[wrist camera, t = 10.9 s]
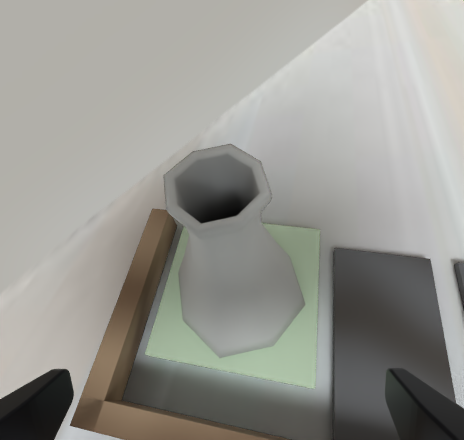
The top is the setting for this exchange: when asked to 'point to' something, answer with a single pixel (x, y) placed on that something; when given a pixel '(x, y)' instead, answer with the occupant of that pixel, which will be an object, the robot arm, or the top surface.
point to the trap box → (344, 346)
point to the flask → (230, 252)
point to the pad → (257, 361)
